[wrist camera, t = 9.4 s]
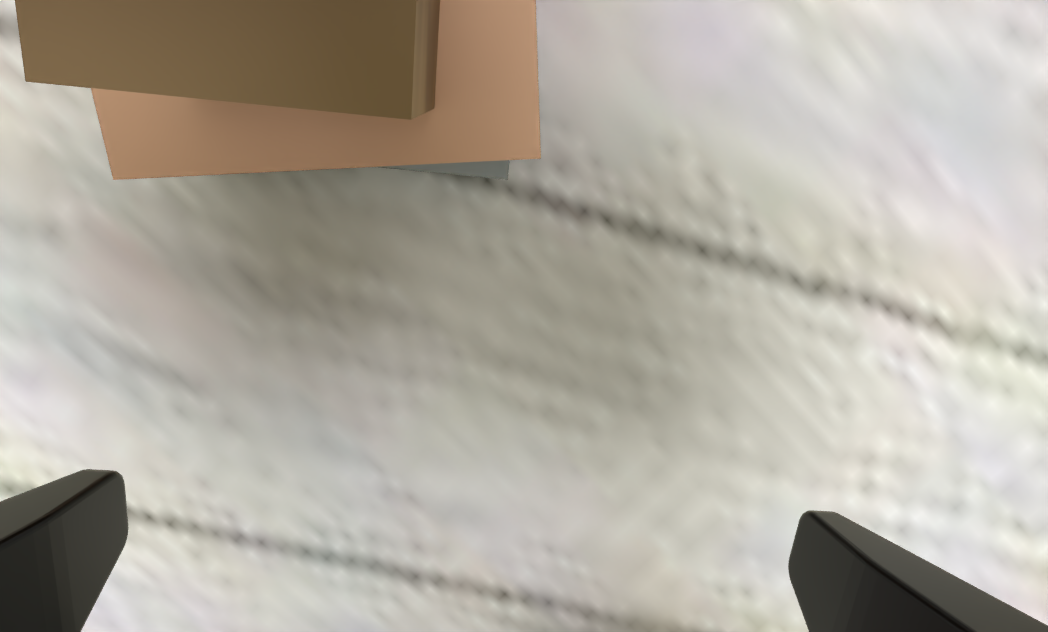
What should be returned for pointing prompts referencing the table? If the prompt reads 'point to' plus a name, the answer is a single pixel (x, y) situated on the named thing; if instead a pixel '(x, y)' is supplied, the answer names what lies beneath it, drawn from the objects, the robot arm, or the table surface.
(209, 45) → the walnut block
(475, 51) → the tower top slab
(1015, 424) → the table surface
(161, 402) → the table surface
